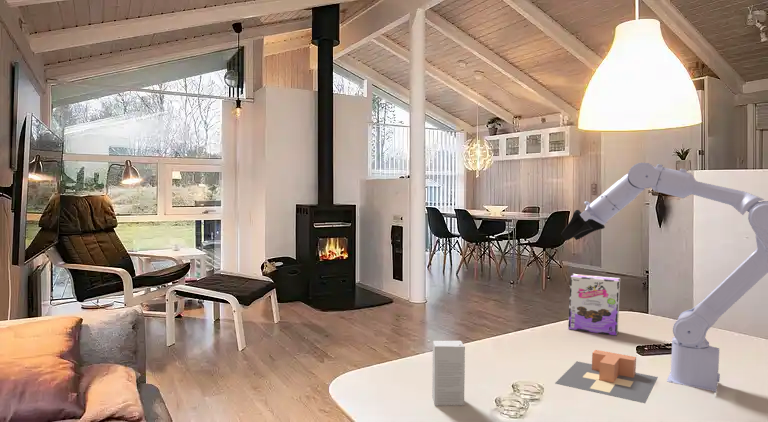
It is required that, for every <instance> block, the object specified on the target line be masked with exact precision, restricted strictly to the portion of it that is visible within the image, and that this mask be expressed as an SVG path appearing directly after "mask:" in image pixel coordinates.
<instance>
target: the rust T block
mask: <svg viewBox="0 0 768 422" xmlns="http://www.w3.org/2000/svg"><path fill="white" fill-rule="evenodd" d="M591 357H592V358H591V364H592V370H596V371H600V373H599V380H603V381H608V382H612V383H614V381H615V380H616V379H617V377H618V376H619V375H622V376H627V377H632V378H633V377H634V376H635V374H636V373H637V371H636V369H637V356H633V355H628V354H627V355H626V354H621V353H615V352H610V351H605V350H599V349H595V350H594V351H593V352H592V355H591Z"/></svg>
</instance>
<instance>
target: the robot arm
mask: <svg viewBox="0 0 768 422" xmlns="http://www.w3.org/2000/svg"><path fill="white" fill-rule="evenodd" d="M628 170H629V171H628V173H626V174H624V175H623V176H622V177H621V178H620V179H617V180H616V181H615V182H614V183H613V184H612V185H611V186H609V187H608V188H607V189H606V190H605V191H603V193H602V194H601V193H600V195H599V196H597V198H596V199H594V200H593V201H592V202H589V201H588V200H586V201H584V205H585V206H586V207H585V209H584V210H583V211H582V212H581V211H580V210H579V209H576V210H574V212H573V214H572V217H571V219H570V221H569V222H568V223H567V225H566V226H565V227H564V229H563V230H562V232H561V233H560V235H561V237H562V238H563V239H564V240H565V241H570V240H571V239H573V238H574V240H575V241H578V240H580V239H582V238H583V237H586V236H588V235H589V234H591V233H594V232H596V231H599V230H603V229H605V228H606V227H605V225H606V224H607V223H608V221H609V220H611V219H612V218H613V217H614V216H616V215H617V214H618V213H619V212H621V211H622V210H623V209H624V208H625V207H626V206H628V205H629V204H630V203H632V202H633V201H634V200H635V199H636V198H637V197H638V196H639V195H640V194H642V193H643V192H644V191H645V189H649V188H651V189H652V191H654V192H657V193H661V194H664V195H669V196H673V197H677V198H680V199H685V198H687V197H689V196H691V195H692V196H696V197H700V198H703V199H707V200H711V201H715V202H718V203H722V204H725V205H729V206H732V208H734V209H735V210H737V212H739V213H740V214H741V215H742V216H744V215H745V213H746V212H747V213H748V216H747V220H748V223H749V225H750V226H751V229H752V230H753V232H754V234H755V243H756V249H755V250H754V251H753V252H752V253H750V254H749V256H747V257H746V258H745V259H744V260H743V261H742V262H741V263H740V264H739V265H738V266H737V267H736V268H735V269H733V271H731V272H730V274H728V276H726V278H724V280H722V281H721V282H720V283H719V284H718V285H717V286H716V287H715V288H714V289H712V291H711V292H710V293H708V295H706V297H704V299H703V300H701V301H700V302H699V303H697V304H696V305H695V306H694V307H692V308H691V309H686V310H684V311H683V312H680V314H679V316H678V317H677V320H675V322H674V323H673V326H672V333H673V337H672V338H671V357H670V358H671V360H670V363H671V364H670V371H669V375H668V376H667V379H666V382H667V383H672V384H676V385H682V386H687V387H692V388H695V389H696V388H697V389H702V390H708V391H712V392H713V393H717V390H718V383H720V380H721V378H720V377H721V374H720V373H719V369H720V368H719V367H720V366H719V364H720V347H716V346H712V345H710V341H708V340H707V338H706V336H707V333H708V332H709V331H708V330H710V328H712V327H713V326H714V325H715V323H716V322H717V321H718V320H719V319H720V318H721V317H722V315H724V314H725V313H726V312H727V311H728V310H729V309H730V308H732V307H733V305H734V304H736V303H737V302H738V301H739V300H740V299H741V298H742V297H743V296H744V295H745V294H747V293H748V291H749V290H751V289H753V287H754V286H755V285H756V284H757V283H759V281H761V280H762V279H763V278H764V277H765V276H766V275H767V274H768V200H765V198H762V197H760V196H758V195H756V194H752V193H750V192H747V191H744V190H739V189H734V188H729V187H726V186H720V185H715V184H712V183H706V182H702V181H698V180H696V178H695V177H694V175H693V173H690V172H688V170H687V169H685V168H680V169H679V170H677V169H674V168H669V167H665V166H663V164H660V163H658V164H656V166H654V165H653V164H651V163H649V162H638V163H635V164H633V165H632V166H631V167H630V168H629V169H628Z"/></svg>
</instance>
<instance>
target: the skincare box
mask: <svg viewBox="0 0 768 422" xmlns="http://www.w3.org/2000/svg"><path fill="white" fill-rule="evenodd" d="M465 351H466V346H465V345H464V343H463V341H461V340H432V388H431V389H432V395H431V396H432V401H433V403H434V404H433V405H434V406H436V407H437V406H441V407H442V406H464V405H465V375H466V374H465V371H466V370H465V367H466V364H465V362H466V359H465V358H466V357H465V355H466V353H465Z"/></svg>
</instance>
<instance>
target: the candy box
mask: <svg viewBox="0 0 768 422" xmlns="http://www.w3.org/2000/svg"><path fill="white" fill-rule="evenodd" d="M569 280H570V281H569V303H568V305H569V306H568V308H569V309H568V324H567V325H568V330H574V331H581V332H588V333H595V334H603V335H604V334H605V335H609V336H610V335H611V336H617V335H618V333H619V315H620V314H619V313H620V295H621V293H620V292H621V291H620V290H621V277H610V276H601V275H589V274H581V273H580V274H576V273H572V275H570V279H569Z"/></svg>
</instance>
